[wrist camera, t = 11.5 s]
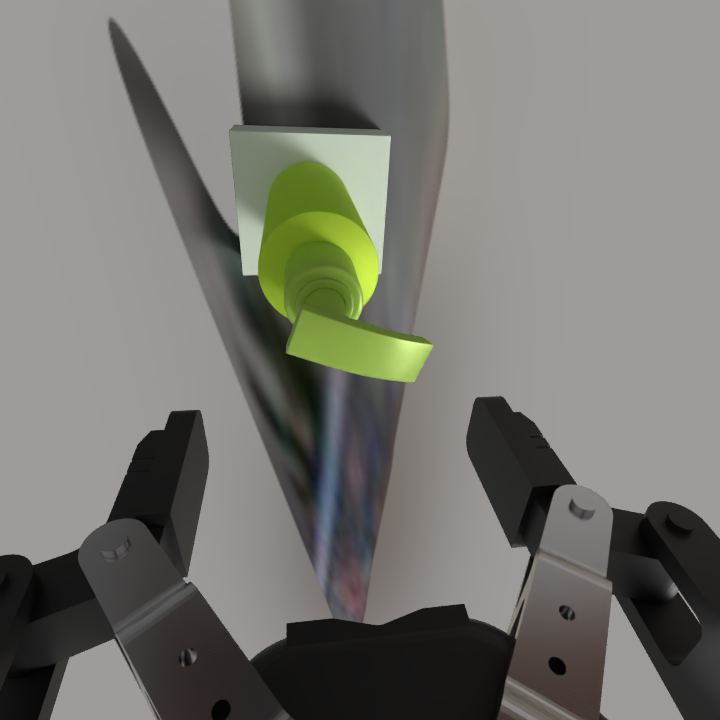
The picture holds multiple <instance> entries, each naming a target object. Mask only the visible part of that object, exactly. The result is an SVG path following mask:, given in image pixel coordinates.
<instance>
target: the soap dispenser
mask: <svg viewBox="0 0 720 720" xmlns="http://www.w3.org/2000/svg"><path fill="white" fill-rule="evenodd" d="M378 275H379V262H378V256H377V252H376V249H375V247H374V244H373V242H372V240H371V238H370V236H369V234H368V232H367V230H366V228H365V226H364V224H363V222H362V220H361V218H360V216H359V213H358V211H357V209H356V207H355V205H354V203H353V201H352V199H351V197H350V195H349V193H348V191H347V189H346V187H345V185H344V183H343V181H342V180H341V179H340V177H339V176H338V175H337V174H336V173H335V172H334V171H332V170H331V169H329V168H328V167H326V166H324V165H321V164H318V163H314V162H301V163H297V164H294V165H291V166H289V167H287V168H286V169H284V170H283V171H282V172H281V173H280V174H279V175H278V176H277V177H276V178H275V180H274V181H273V183H272V185H271V188H270V191H269V195H268V201H267V208H266V214H265V221H264V227H263V234H262V240H261V247H260V253H259V260H258V277H259V282H260V285H261V288H262V291H263V293H264V295H265V296H266V298H267V300H268V301H269V302H270V304H271V305H272V306H273V307H274V308H275V309H276V310H277V311H278V312H280V313H281V314H282V315H284V316H285V317H287V318H289V320H290V321H291V323H292V324H293V328H292V331H291V334H290V336H289V339H288V342H287V345H286V353H287V354H290V355H293V356H297V357H300V358H303V359H306V360H309V361H313V362H316V363H319V364H322V365H326V366H329V367H333V368H336V369H339V370H343V371H347V372H351V373H354V374H359V375H363V376H367V377H372V378H378V379H384V380H391V381H400V382H414V381H415V380H416V378H417V376H418V374H419V372H420V370H421V369H422V367H423V365H424V363H425V361H426V359H427V358H428V356H429V353H430V352H431V350H432V348H433V344H432V343H430V342H429V341H427V340H426V339H424V338H422V337H419V336H414V335H408V334H404V333H399V332H395V331H392V330H388V329H384V328H381V327H377V326H374V325H371V324H368V323H365V322H361V321H358V318H359V316H360V314H361V311H362V308H363V306H364V305H365V304H366V303H367V302H368V300H369V299H370V297H371V296H372V294H373V292H374V290H375V287H376V284H377V280H378Z"/></svg>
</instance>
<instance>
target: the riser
mask: <svg viewBox="0 0 720 720" xmlns="http://www.w3.org/2000/svg"><path fill="white" fill-rule="evenodd" d="M229 136H230V145H231V156H232V166H233V177H234V186H235V197H236V207H237V217H238V227H239V238H240V248H241V258H242V268H243V275H258V260H259V253H260V247H261V240H262V234H263V227H264V221H265V214H266V208H267V201H268V195H269V191H270V188H271V185H272V183H273V181H274V180H275V178H276V177H277V176H278V175H279V174H280V173H281V172H282V171H283V170H284V169H286V168H287V167H289V166H291V165H294V164H297V163H301V162H314V163H318V164H321V165H324V166H326V167H328V168H329V169H331V170H332V171H334V172H335V173H336V174H337V175H338V176H339V177H340V179H341V180H342V181H343V183H344V185H345V187H346V189H347V191H348V193H349V195H350V197H351V199H352V201H353V203H354V205H355V207H356V209H357V211H358V213H359V216H360V218H361V220H362V222H363V224H364V226H365V228H366V230H367V232H368V234H369V236H370V238H371V240H372V242H373V244H374V247H375V249H376V252H377V256H378V262H379V274H381V268H382V254H383V240H384V226H385V211H386V197H387V183H388V169H389V155H390V140H391V136H390V135H388V134H387V133H385V132H384V131H382V130H377V129H347V128H317V127H287V126H257V125H234V126H233V128H231V129H230V131H229Z"/></svg>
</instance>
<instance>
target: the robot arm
mask: <svg viewBox="0 0 720 720" xmlns="http://www.w3.org/2000/svg"><path fill="white" fill-rule="evenodd" d="M466 438H467V439H466V444H467V451H468V455H469V457H470V459H471V462H472V464H473V466H474V468H475V470H476V472H477V474H478V477H479V479H480V481H481V483H482V485H483V488H484V489H485V492H486V494H487V496H488V498H489V500H490V503H491V505H492V507H493V509H494V511H495V513H496V515H497V518H498V520H499V522H500V524H501V526H502V528H503V530H504V533H505V535H506V537H507V539H508V541H509V543H510V545H511V547H512V548H515V547H526V546H527V548H528V550H529V552H530V557H529V560H528V562H527V566H526V569H525V573H524V576H523V580H522V583H521V587H520V590H519V594H518V597H517V601H516V604H515V608H514V611H513V615H512V618H511V621H510V624H509V627H508V630H507V633H505V632H504V631H502V630H500V629H498V628H496V627H495V626H492V625H490V624H487V623H485V622H482V621H478V620H475V619H470V618H469V617H468V615H467V611H466V608H465V605H464V604H458V605H449V606H440V607H432V608H423V609H420V610H417V611H415V612H412V613H410V614H408V615H405V616H403V617H400V618H398V619H395V620H393V621H390V622H388V623H386V624H383V625H371V624H365V623H358V622H352V621H345V620H339V619H332V618H331V619H323V620H313V621H304V622H295V623H287V638H285V639H283V640H280V641H278V642H276V643H274V644H272V645H270V646H269V647H267V648H265V649H264V650H263V651H261V652H260V653H258V654H257V655H256V656H255V657H254V658H252V659H251V660H250V661H249V660H248V658H247V657H246V656H245V654H244V653H243V651H242V650H241V649H240V647H239V646H238V645H237V643H236V642H235V641H234V639H233V638H232V636H231V635H230V633H229V632H228V631H227V629H226V628H225V626H224V625H223V624H222V622H221V621H220V619H219V618H218V617H217V615H216V614H215V612H214V611H213V610H212V608H211V607H210V605H209V604H208V603H207V601H206V600H205V598H204V597H203V596H202V594H201V593H200V591H199V590H198V589H197V587H195V585H194V584H193V583H191V582H189V583H188V584H187V583H186V582H185V581H184V580H183V577H187V575H188V571H189V566H190V560H191V555H192V550H193V545H194V541H195V535H196V530H197V525H198V520H199V515H200V510H201V505H202V500H203V495H204V490H205V485H206V480H207V475H208V468H209V455H208V447H207V441H206V436H205V431H204V425H203V419H202V414H201V411H200V410H189V411H188V410H186V411H172V412H171V413H170V415H169V418H168V421H167V424H166V426H165V430H155V431H150V433H148V435H147V436H146V437H145V438H144V439H143V440H142V441H141V442H140V443H139V444H138V445H137V448H136V450H135V453H134V455H133V458H132V462H131V463H130V465H129V468H128V470H127V475H125V478H124V481H123V483H122V485H121V488H120V490H119V493H118V496H117V498H116V501H115V503H114V506H113V508H112V510H111V513H110V516H109V518H108V520H107V522H106V524H104V525H102V526H100V527H99V528H97V529H96V530H94V531H93V532H92V533H91V534H90V535H89V536H88V537H87V538H86V539H85V540H84V542H83V544H82V545H81V547H80V548H79V549H78V550H75V551H73V552H71V553H68V554H65V555H62V556H59V557H57V558H53V559H51V560H48V561H45V562H42V563H39V564H36V565H32V564H31V562H30V561H29V560H28V559H27V558H26V557H24V556H21V555H14V554H12V555H3V556H0V720H50V717H51V714H52V711H53V707H54V704H55V701H56V698H57V695H58V692H59V688H60V685H61V682H62V679H63V676H64V672H65V669H66V666H67V663H68V660H69V657H71V656H74V655H76V654H78V653H81V652H83V651H85V650H88V649H91V648H93V647H95V646H98V645H100V644H102V643H105V642H107V641H109V640H112V639H115V641H116V643H117V645H118V647H119V649H120V651H121V653H122V655H123V657H124V658H125V660H126V663H127V664H128V666H129V668H130V670H131V672H132V674H133V676H134V678H135V680H136V682H137V684H138V686H139V688H140V690H141V692H142V693H143V696H144V697H145V699H146V701H147V703H148V705H149V707H150V709H151V712H152V714H153V716H154V718H155V720H608V719H607V718H605V717H604V716H603V715H602V714H601V713H600V702H601V694H602V684H603V674H604V665H605V655H606V646H607V636H608V626H609V616H610V607H611V606H610V605H611V597H612V594H613V595H615V596H616V598H617V600H618V601H619V604H620V605H621V607H622V609H623V611H624V613H625V614H626V616H627V618H628V620H629V622H630V623H631V625H632V627H633V629H634V630H635V632H636V634H637V636H638V638H639V639H640V641H641V643H642V645H643V647H644V648H645V650H646V652H647V654H648V656H649V657H650V659H651V661H652V663H653V664H654V666H655V668H656V670H657V672H658V673H659V675H660V677H661V679H662V681H663V682H664V684H665V686H666V688H667V690H668V691H669V693H670V695H671V697H672V698H673V700H674V702H675V704H676V705H677V707H678V709H679V711H680V713H681V715H682V717H683V718H684V720H720V539H719V538H718V537H717V535H715V533H714V532H713V531H712V529H711V528H710V527H709V526H708V525H707V524H706V523H705V522H704V521H703V519H702V518H700V517H699V516H698V515H697V514H695V513H694V512H692V511H691V510H689V509H687V508H685V507H683V506H681V505H678V504H675V503H672V502H666V501H660V502H655V503H652V504H651V505H650V506H649V507H648V509H647V511H646V512H645V514H641V513H635V512H630V511H625V510H620V509H615V508H611V507H610V506H609V504H608V503H607V502H606V501H605V499H604V498H603V497H601V496H600V495H599V494H597V493H596V492H594V491H592V490H591V489H588V488H586V487H583V486H579V485H577V484H576V482H575V481H574V479H573V478H572V477H571V475H570V474H569V472H568V471H567V469H566V468H565V467H564V465H563V464H562V462H561V461H560V460H559V458H558V456H557V455H556V454H555V452H554V451H553V449H552V448H550V445H549V444H548V442H547V441H546V439H545V438H543V435H542V433H541V432H540V430H539V429H538V428H537V426H536V425H535V423H534V422H533V421H531V420H530V419H529V418H527V417H526V416H525V415H523V414H522V413H521V412H513V411H512V410H511V408H510V406H509V405H508V403H507V402H506V400H505V399H504V398H503V397H502V396H498V397H497V396H496V397H478V398H476V399H475V401H474V404H473V409H472V414H471V418H470V423H469V427H468V432H467V437H466ZM678 591H680V592H681V594H682V595H683V596H684V598H685V600H686V601H687V603H688V604H689V605H690V607H691V608H692V610H693V611H694V613H695V614H696V616H697V618H698V620H699V622H700V623H699V622H698V621H697V619H696V618H695V616H694V615H693V613H692V612H691V610H690V609H689V607H688V606H687V604H686V603H685V601H684V600H683V599H682V597H681V596H680V594H679V593H678Z"/></svg>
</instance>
